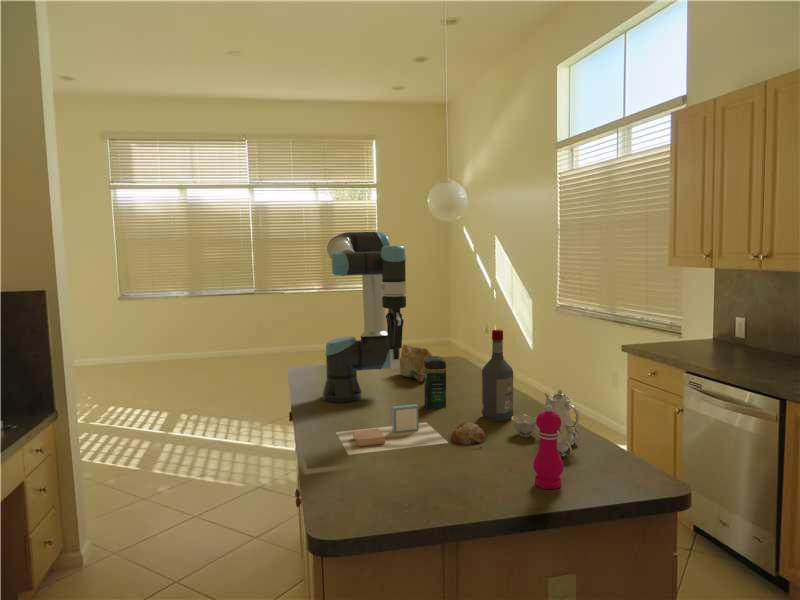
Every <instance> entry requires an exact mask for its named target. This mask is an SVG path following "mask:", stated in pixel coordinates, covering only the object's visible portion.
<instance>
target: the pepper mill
mask: <svg viewBox="0 0 800 600" xmlns="http://www.w3.org/2000/svg"><path fill="white" fill-rule="evenodd" d="M544 407H545V406H544ZM545 410H546V411H541V412H539V413H538V415H536V417H537V419H536V424H537V426H536V427H537V428H538V430H537V432H538V434H537V436H538V437H539V448H538V451H537V452H536V454H535V458H534V459H533V463H532V464H533V466H532V467H533V471H534V472H535V475H534V476H535V477H534V483H535V485H536V486H537V487H539V488H541V489H546V490H553V489H559V488H560V487H561V486H562V477H561V475H562V474H563V473H564V462H563V460H562V456H561V457H560V455H559V452H558V449H557V438H559V431H558V429H559V428H560V427H561V418H560V416H559V415H558V414H557V413H555V412H553V411H552V410H553V408H552V406H550V405H547V406H546V407H545Z"/></svg>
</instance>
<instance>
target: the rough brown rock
mask: <svg viewBox="0 0 800 600" xmlns="http://www.w3.org/2000/svg"><path fill="white" fill-rule="evenodd" d="M400 353H401V354H400V369H399V371H400V375H401V376H402V377H406V378H415V379H416V380H417V381H418V382H419V383H421V382H424V361H425V359H426V358H428V357H429V356H434V355H433V354H432V352H431V351H430V350H429V349H428V348H425V347H424V348H421V347H418V346H416V347H415V346H413V345H410V344H402V348H401V351H400Z"/></svg>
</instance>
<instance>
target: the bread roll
mask: <svg viewBox="0 0 800 600" xmlns="http://www.w3.org/2000/svg"><path fill="white" fill-rule="evenodd" d="M486 439H487V437H486V434H485V432H484V430H483V429H482V427H480V426H479V424H476V423H474V422H471V421H470V422H468V421H465V422H462V423H460V424H459V425H457V426H455V427H454V429H453V431H452V432H451V441H452V442H453V443H457V444H461V445H471V444H475V445H476V444H477V445H478V444H482V443H483V442H486Z"/></svg>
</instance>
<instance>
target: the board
mask: <svg viewBox="0 0 800 600" xmlns="http://www.w3.org/2000/svg"><path fill="white" fill-rule="evenodd" d="M376 428H377V427H372V428H370V429H376ZM378 428H379V430H380V431H381V432H382V433H383V435H384V436H385V443H383V444H375V445H366V446H358V445H357V443H356V442H355V440H354V438H353V431H358V430H359V429H354V430H345V431H335V433H336V435H337V437H338V439H339V441H340V443H341V445H342V446H343V449H344V450H345V451H346V453H347V455H348V456H351V455H361V454H368V453H376V452H384V451H391V450H392V451H393V450H401V449H410V448H417V447H426V446H434V445H441V444H442V445H443V444H449V442H448V441H447V440H446V439H445V437H443V436H442V435H441V434H440V433H439V432H438V431H437V430H436V429H434V428H433V427H432V426H431V425H430V424H429V423H428V422H420V423H419V431H412V432H403V433H393V432H392V425H391V426H382V427H378ZM367 429H368V428H363V429H361V430H367Z"/></svg>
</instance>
